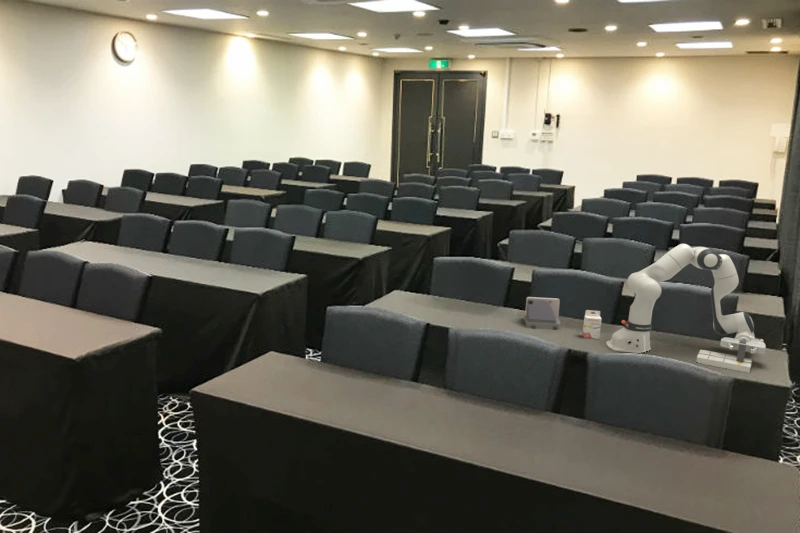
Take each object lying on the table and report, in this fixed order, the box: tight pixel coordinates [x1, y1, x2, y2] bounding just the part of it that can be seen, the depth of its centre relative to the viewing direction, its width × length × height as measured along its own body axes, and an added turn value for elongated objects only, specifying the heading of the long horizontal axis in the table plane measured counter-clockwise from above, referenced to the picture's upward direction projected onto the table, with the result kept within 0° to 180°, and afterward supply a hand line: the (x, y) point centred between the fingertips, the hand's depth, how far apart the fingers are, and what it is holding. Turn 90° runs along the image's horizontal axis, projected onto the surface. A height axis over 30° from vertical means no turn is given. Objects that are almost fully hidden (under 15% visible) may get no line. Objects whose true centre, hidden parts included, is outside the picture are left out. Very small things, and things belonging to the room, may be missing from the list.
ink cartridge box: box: [582, 309, 603, 340], centre depth 376 cm, size 9×5×15 cm, turn 84°
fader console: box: [695, 348, 753, 374], centre depth 344 cm, size 24×14×3 cm, turn 60°
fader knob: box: [736, 340, 747, 362], centre depth 339 cm, size 3×4×12 cm
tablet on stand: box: [523, 296, 562, 331], centre depth 396 cm, size 21×21×15 cm
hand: (741, 349), depth 338 cm, fingers open, 8 cm apart
